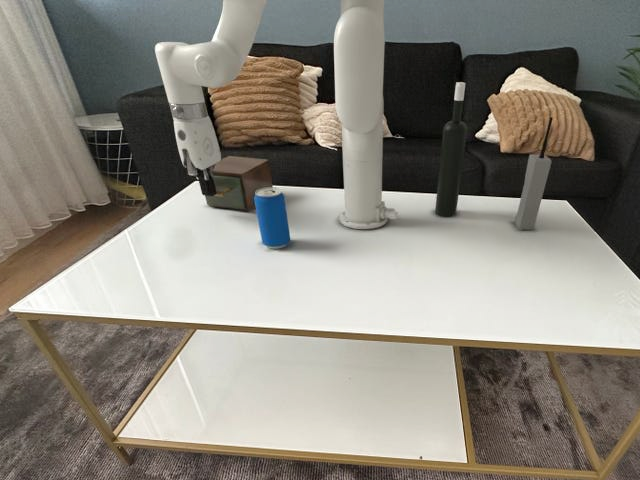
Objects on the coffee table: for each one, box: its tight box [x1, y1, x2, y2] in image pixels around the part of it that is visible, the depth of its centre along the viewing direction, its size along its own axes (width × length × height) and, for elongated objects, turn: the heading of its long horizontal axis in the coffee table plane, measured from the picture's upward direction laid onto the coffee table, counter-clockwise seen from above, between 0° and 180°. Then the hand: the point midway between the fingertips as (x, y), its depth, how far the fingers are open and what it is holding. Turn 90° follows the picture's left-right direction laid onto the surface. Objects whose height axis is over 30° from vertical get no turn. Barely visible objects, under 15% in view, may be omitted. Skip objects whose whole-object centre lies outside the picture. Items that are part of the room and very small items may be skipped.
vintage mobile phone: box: [513, 116, 554, 231], centre depth 98 cm, size 4×5×25 cm
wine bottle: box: [434, 81, 468, 218], centre depth 102 cm, size 6×6×30 cm
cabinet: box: [208, 155, 274, 212], centre depth 114 cm, size 15×13×10 cm
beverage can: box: [254, 187, 291, 250], centre depth 91 cm, size 6×6×12 cm
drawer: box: [204, 174, 246, 209], centre depth 111 cm, size 18×11×8 cm, turn 165°
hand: (209, 194), depth 103 cm, fingers closed
